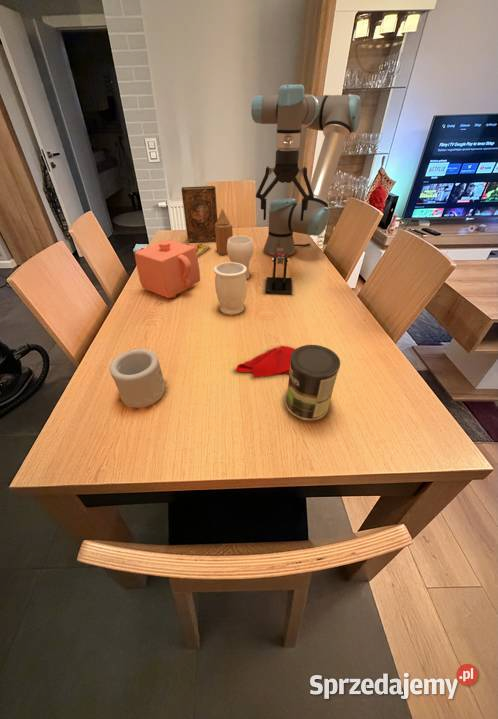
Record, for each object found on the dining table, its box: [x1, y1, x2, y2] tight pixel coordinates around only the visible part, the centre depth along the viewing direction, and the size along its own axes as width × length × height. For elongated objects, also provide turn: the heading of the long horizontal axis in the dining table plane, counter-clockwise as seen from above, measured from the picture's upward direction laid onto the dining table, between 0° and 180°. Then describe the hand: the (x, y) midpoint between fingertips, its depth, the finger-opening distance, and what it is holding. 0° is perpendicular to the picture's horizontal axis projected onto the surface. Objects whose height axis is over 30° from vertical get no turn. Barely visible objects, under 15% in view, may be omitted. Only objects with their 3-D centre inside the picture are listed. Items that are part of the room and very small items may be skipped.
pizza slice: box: [185, 242, 210, 258], centre depth 143 cm, size 16×21×3 cm
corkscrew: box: [272, 253, 285, 265], centre depth 115 cm, size 11×6×2 cm, turn 175°
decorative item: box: [215, 207, 234, 256], centre depth 140 cm, size 7×7×20 cm
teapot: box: [134, 239, 201, 299], centre depth 114 cm, size 25×23×18 cm
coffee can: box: [285, 344, 341, 422], centre depth 67 cm, size 10×10×14 cm
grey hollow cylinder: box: [109, 348, 166, 409], centre depth 73 cm, size 14×11×10 cm
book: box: [180, 185, 218, 244], centre depth 152 cm, size 16×6×25 cm, turn 102°
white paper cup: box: [213, 261, 248, 315], centre depth 101 cm, size 11×10×15 cm
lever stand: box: [264, 253, 293, 296], centre depth 114 cm, size 12×10×13 cm
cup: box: [226, 235, 254, 280], centre depth 121 cm, size 11×11×15 cm
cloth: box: [235, 345, 296, 378], centre depth 83 cm, size 26×14×2 cm, turn 84°
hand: (283, 219), depth 110 cm, fingers open, 13 cm apart
